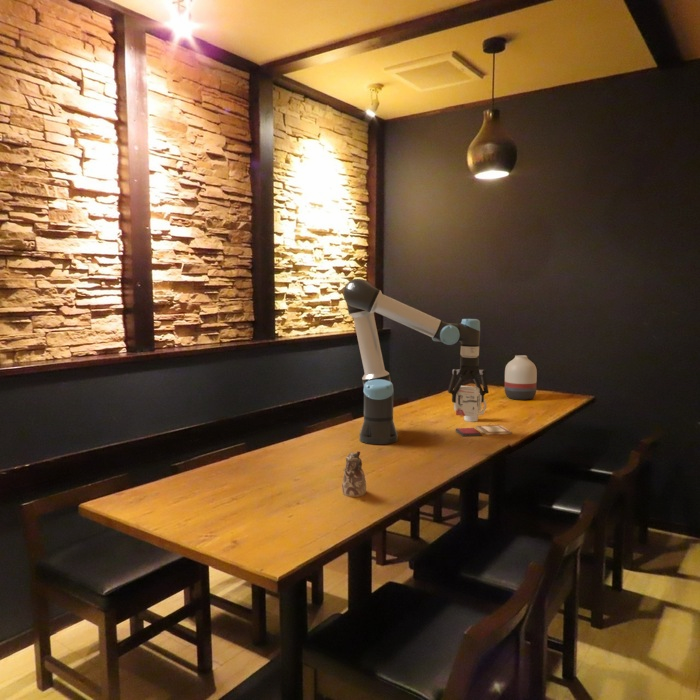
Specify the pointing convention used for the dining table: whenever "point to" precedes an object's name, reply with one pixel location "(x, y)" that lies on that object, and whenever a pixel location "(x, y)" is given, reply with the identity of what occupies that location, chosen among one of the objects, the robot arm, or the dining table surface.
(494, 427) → the board
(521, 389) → the vase
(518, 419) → the dining table surface
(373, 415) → the robot arm
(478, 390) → the ink box
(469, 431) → the ink pad
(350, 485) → the figurine
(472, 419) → the mug
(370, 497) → the dining table surface
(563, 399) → the dining table surface
